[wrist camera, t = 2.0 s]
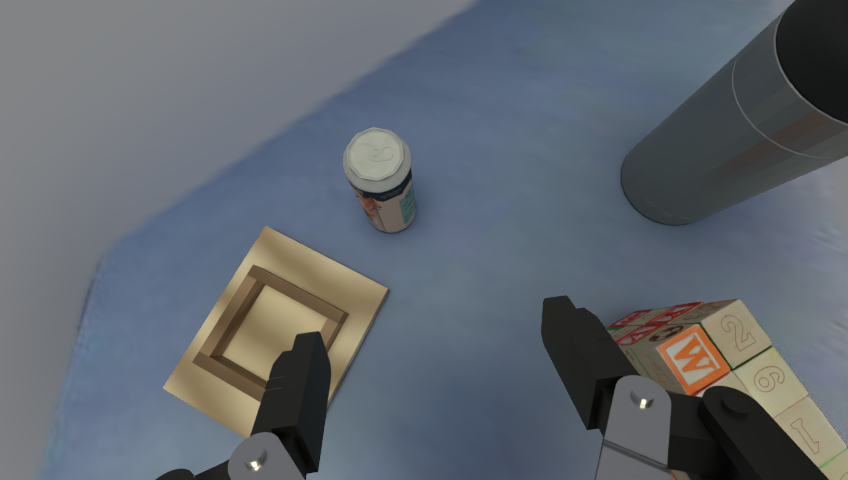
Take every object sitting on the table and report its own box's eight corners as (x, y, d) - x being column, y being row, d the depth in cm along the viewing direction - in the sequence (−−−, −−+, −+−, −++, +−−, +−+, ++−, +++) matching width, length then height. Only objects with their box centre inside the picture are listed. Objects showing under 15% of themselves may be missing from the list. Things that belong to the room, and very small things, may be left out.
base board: (272, 230, 37) (256, 219, 33) (389, 290, 35) (385, 285, 32) (174, 386, 33) (145, 391, 30) (299, 460, 32) (284, 475, 28)
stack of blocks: (793, 552, 30) (1038, 698, 18) (730, 596, 29) (940, 778, 17) (634, 309, 34) (742, 295, 23) (576, 342, 34) (657, 346, 22)
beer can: (365, 190, 37) (337, 126, 26) (413, 185, 38) (406, 118, 26) (369, 237, 36) (342, 190, 25) (418, 231, 36) (414, 182, 25)
